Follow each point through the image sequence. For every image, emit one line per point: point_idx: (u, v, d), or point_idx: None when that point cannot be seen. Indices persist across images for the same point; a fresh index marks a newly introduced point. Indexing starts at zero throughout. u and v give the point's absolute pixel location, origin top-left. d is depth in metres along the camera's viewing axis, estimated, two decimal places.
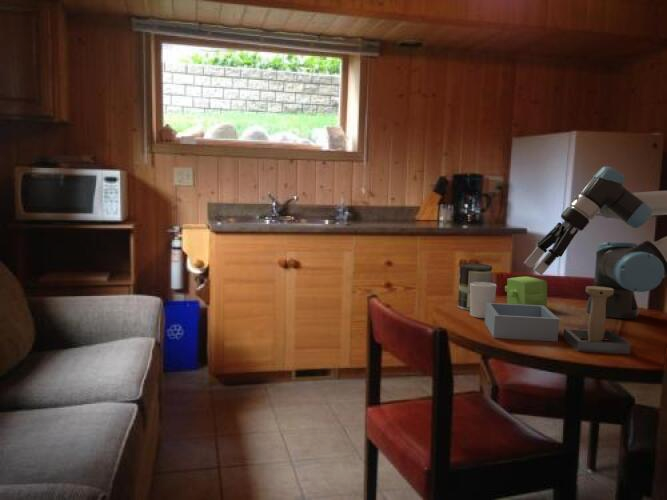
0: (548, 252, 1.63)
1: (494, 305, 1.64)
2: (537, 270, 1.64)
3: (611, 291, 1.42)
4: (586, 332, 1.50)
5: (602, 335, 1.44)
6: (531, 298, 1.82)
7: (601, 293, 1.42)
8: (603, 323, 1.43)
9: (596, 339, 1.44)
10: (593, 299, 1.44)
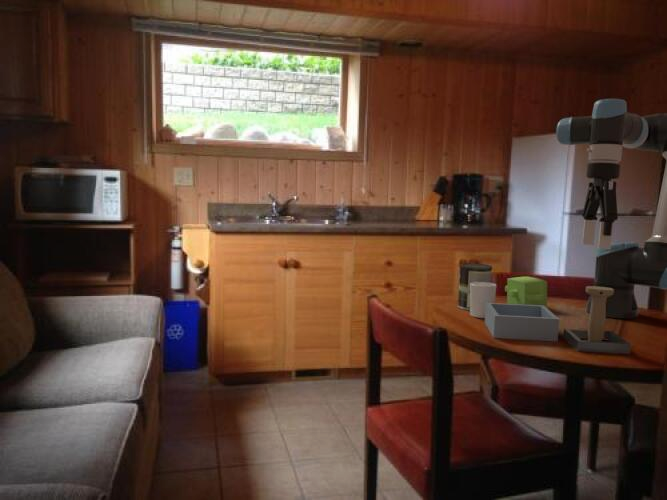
0: (601, 222, 1.37)
1: (494, 305, 1.64)
2: (602, 247, 1.37)
3: (611, 291, 1.42)
4: (586, 332, 1.50)
5: (602, 335, 1.44)
6: (531, 298, 1.82)
7: (601, 293, 1.42)
8: (603, 323, 1.43)
9: (596, 339, 1.44)
10: (593, 299, 1.44)
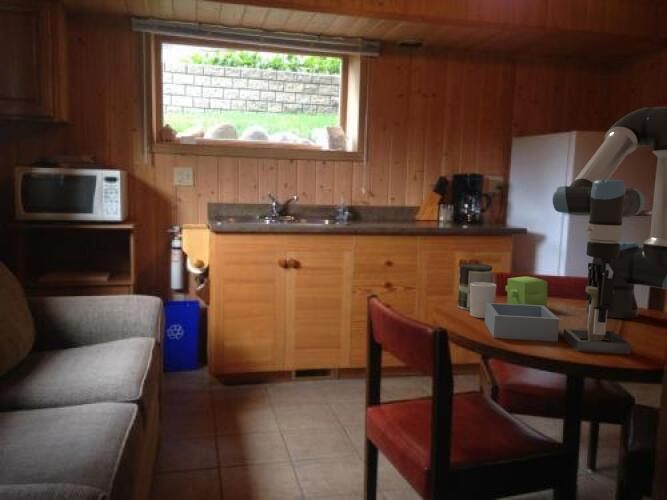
0: (595, 309, 1.42)
1: (494, 305, 1.64)
2: (597, 332, 1.43)
3: None
4: (586, 332, 1.50)
5: (602, 335, 1.44)
6: (531, 298, 1.82)
7: None
8: None
9: (596, 339, 1.44)
10: (593, 299, 1.44)
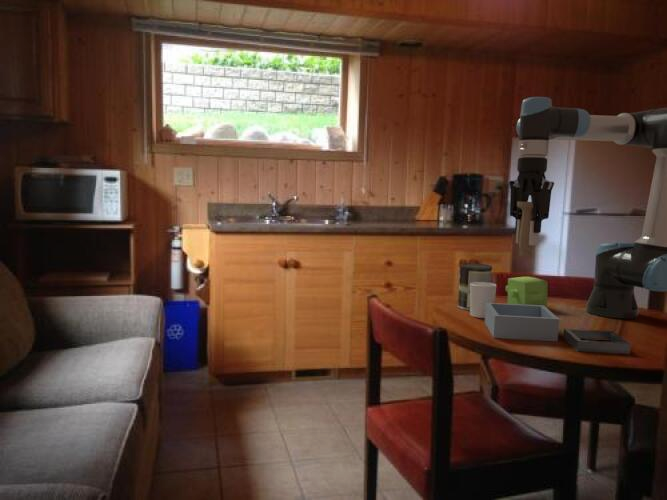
0: (531, 221, 1.51)
1: (494, 305, 1.64)
2: (533, 243, 1.52)
3: None
4: (586, 332, 1.50)
5: (533, 246, 1.53)
6: (531, 298, 1.82)
7: None
8: None
9: (530, 250, 1.53)
10: (526, 212, 1.52)
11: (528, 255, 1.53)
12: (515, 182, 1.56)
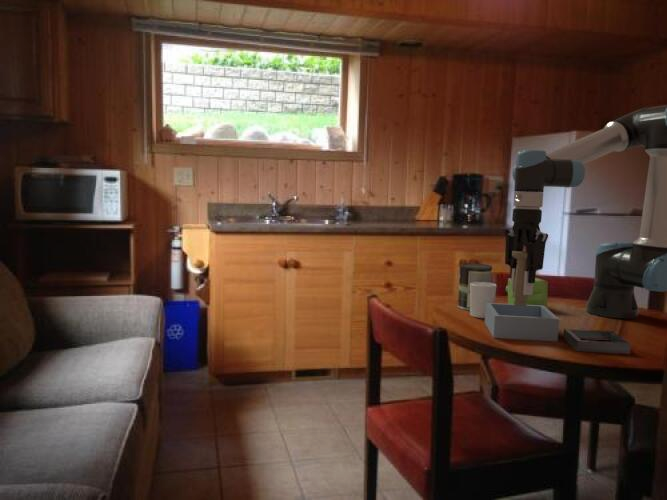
0: (526, 271, 1.53)
1: (494, 305, 1.64)
2: (527, 293, 1.54)
3: None
4: (586, 332, 1.50)
5: (527, 295, 1.55)
6: (531, 298, 1.82)
7: None
8: None
9: (524, 299, 1.55)
10: (521, 262, 1.54)
11: (522, 304, 1.55)
12: (510, 231, 1.58)
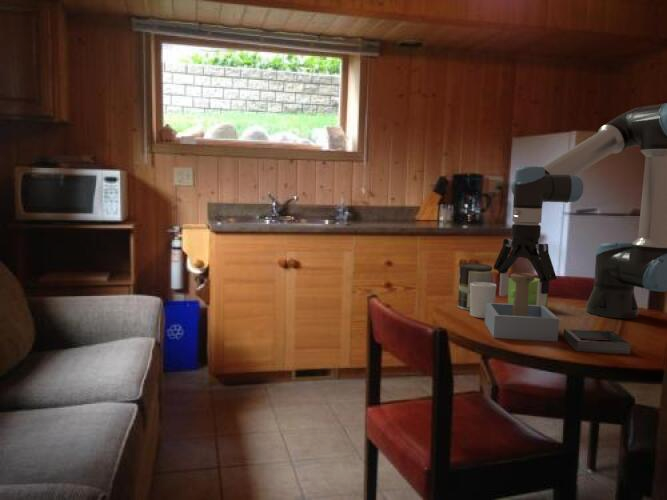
0: (539, 282, 1.49)
1: (494, 305, 1.64)
2: (540, 304, 1.50)
3: (534, 276, 1.54)
4: (586, 332, 1.50)
5: None
6: (531, 298, 1.82)
7: (527, 279, 1.53)
8: (527, 306, 1.55)
9: None
10: (519, 286, 1.54)
11: None
12: (509, 242, 1.59)
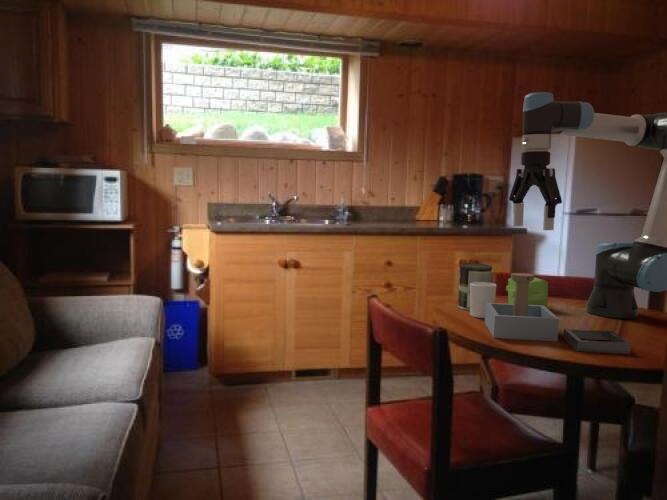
0: (545, 206, 1.50)
1: (494, 305, 1.64)
2: (547, 228, 1.51)
3: (534, 276, 1.55)
4: (586, 332, 1.50)
5: None
6: (531, 298, 1.82)
7: (527, 279, 1.54)
8: (527, 306, 1.56)
9: None
10: (519, 285, 1.55)
11: None
12: (522, 172, 1.61)
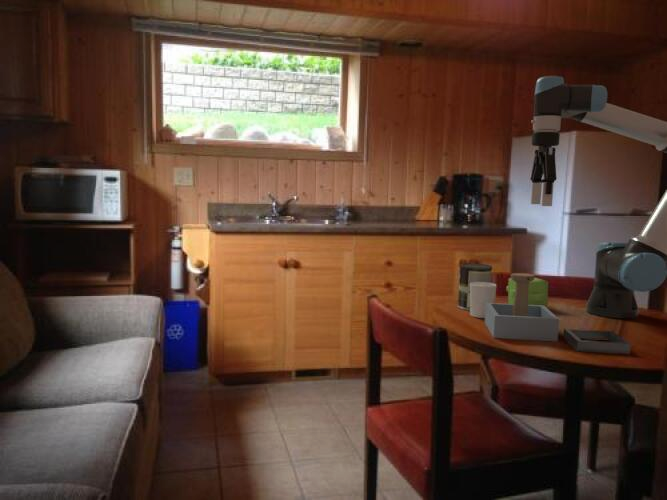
0: (543, 183, 1.60)
1: (494, 305, 1.64)
2: (545, 204, 1.60)
3: (534, 276, 1.55)
4: (586, 332, 1.50)
5: None
6: (531, 298, 1.82)
7: (528, 279, 1.54)
8: (527, 306, 1.56)
9: None
10: (519, 285, 1.55)
11: None
12: None
